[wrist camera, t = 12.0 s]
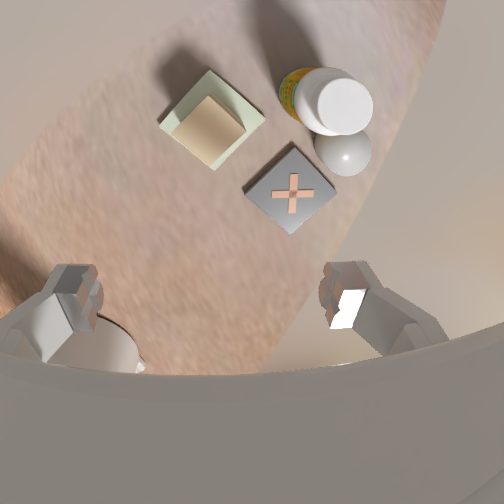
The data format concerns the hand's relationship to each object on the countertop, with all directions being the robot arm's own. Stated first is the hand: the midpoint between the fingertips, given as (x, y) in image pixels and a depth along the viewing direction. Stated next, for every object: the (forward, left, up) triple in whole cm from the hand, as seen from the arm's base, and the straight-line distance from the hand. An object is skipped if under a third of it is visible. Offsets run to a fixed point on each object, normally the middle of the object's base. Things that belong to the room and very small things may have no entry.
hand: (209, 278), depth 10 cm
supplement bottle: (+9, -3, -20) cm, 22 cm away
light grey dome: (+8, -9, -20) cm, 23 cm away
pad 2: (+1, -9, -20) cm, 22 cm away
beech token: (+1, +2, -19) cm, 19 cm away
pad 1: (+1, +2, -20) cm, 20 cm away
